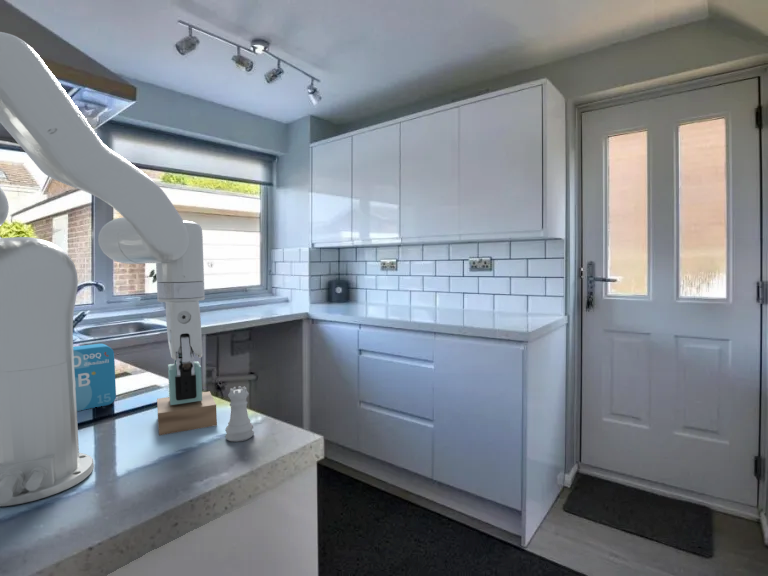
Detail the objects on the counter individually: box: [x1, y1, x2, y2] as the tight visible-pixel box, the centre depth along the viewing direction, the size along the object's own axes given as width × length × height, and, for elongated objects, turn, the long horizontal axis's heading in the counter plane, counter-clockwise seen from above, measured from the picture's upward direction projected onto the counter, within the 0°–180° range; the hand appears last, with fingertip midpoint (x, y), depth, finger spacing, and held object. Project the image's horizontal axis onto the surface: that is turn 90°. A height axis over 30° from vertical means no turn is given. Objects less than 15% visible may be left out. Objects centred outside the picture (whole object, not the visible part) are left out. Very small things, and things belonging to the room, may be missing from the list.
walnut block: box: [156, 391, 218, 436], centre depth 79 cm, size 9×9×4 cm
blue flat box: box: [73, 343, 117, 412], centre depth 87 cm, size 12×4×12 cm, turn 133°
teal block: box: [167, 361, 203, 405], centre depth 78 cm, size 5×5×6 cm
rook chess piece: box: [224, 385, 255, 443], centre depth 71 cm, size 4×4×8 cm
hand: (185, 393), depth 78 cm, fingers closed on teal block, 5 cm apart
